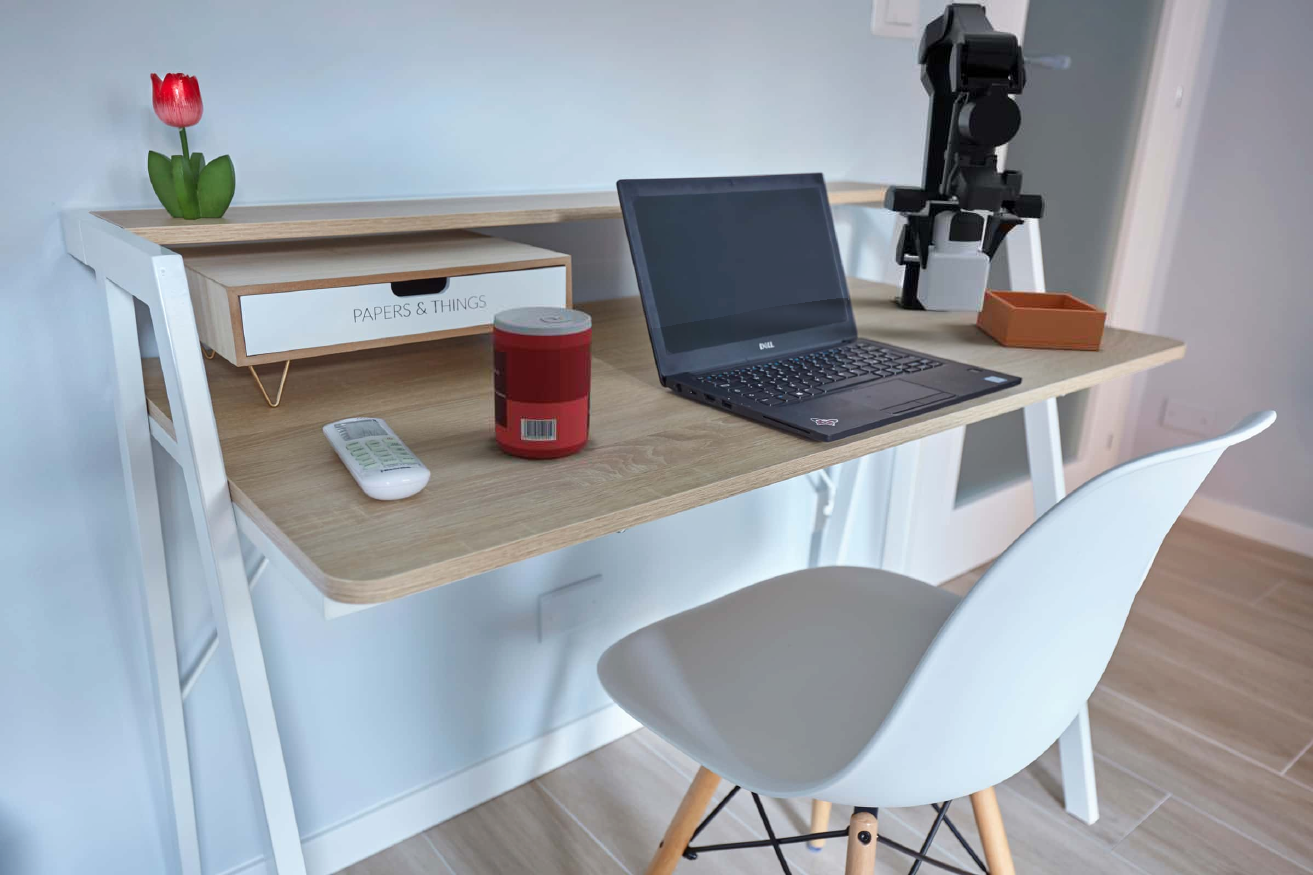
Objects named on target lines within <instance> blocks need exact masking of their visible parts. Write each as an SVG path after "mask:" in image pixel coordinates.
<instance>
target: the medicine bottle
mask: <svg viewBox="0 0 1313 875" xmlns="http://www.w3.org/2000/svg"><path fill="white" fill-rule="evenodd" d="M985 221H986V219H985V218H984V217H983V215H981V214H979V213H977V212H974V211H966V210H961V211H945V212H942V213H939V214H937V215H936V217H935V222H934V230H933V239H932V243H933V244H934V246H929V253H928V261H927V267H926V269H925V270H923V269H922V268H921V266H920V274H919V282H918V291H917V299H918V300H919V301H920V303H921V304H922V305H923V306H924V308H925V309H924V310H926V311H938V312H940V311H941V312H942V311H943V312H945V311H946V312H961V313H962V312H963V313H965V312H966V313H978V312H981V311H982V307H983V300H984V293H985V290H986V286H987V285H986V284H987V279H988V272H989V266H990V264H989V257H988V256H987V255H986V254H984V253H983V252H981V250H980V249H979V247H982V243H983V240H982V239H983V236H984V227H985Z"/></svg>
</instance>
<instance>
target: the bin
mask: <svg viewBox="0 0 1313 875" xmlns="http://www.w3.org/2000/svg"><path fill="white" fill-rule="evenodd" d="M1107 314H1108V313H1107V311H1104V310H1102V309H1100V308H1098V307H1096V306H1095V305H1092V304H1090V303H1088V302H1086V301H1084V300H1082V299H1080V298H1078V297H1076V296H1074V295H1072V294H1070V293H1058V292H1039V291H1036V292H1035V291H1016V290H995V289H993V290H992V289H985V293H984V300H983V307H982V311H981V312H977V316H976V324H975V325H976V326H977V327H978V328H979V329H981V330H982V331H983V332H985V333H986V334H988V335H989V336H991V337H992V338H993V339H995V340H996V341H997V342H998V343H1000V344H1001V345H1002V346H1004V347H1006V348H1007V347H1011V348H1030V349H1052V350H1054V349H1055V350H1073V351H1092V352H1093V351H1094V352H1096V351H1097V352H1098V351H1100V348H1101V342H1102V338H1103V334H1104V329H1105V325H1106V319H1107Z"/></svg>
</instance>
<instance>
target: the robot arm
mask: <svg viewBox="0 0 1313 875" xmlns="http://www.w3.org/2000/svg"><path fill="white" fill-rule="evenodd" d="M986 13H987V9H986V6H985V5H982V4H981V3H973V2H972V3H971V2H970V3H969V2H952V3H951V4H947V5H946V6H945V8H944V11H943V13H942V14H941V15H940V16H938V17H936V18H935V19H933V20H932V21H930V22H929V23H928V24H926V25H925V28H924V30H923V33H922V36H921V39H920V42H919V46H918V52H917V65H919V66H920V82H921V85H922V86H923V88H924V90H925V92H926V94H927V95H928V99H929V100H928V110H927V111H928V112H927V119H926V120H927V121H926V131H925V144H924V153H923V163H922V172H921V173H922V174H921V185H920V186H914V185H913V186H912V185H895V184H894V185H893V184H892V185H890V186H889V187H888V188H887V189H886V190H885V194H884V200H883V208H885V209H888V210H889V211H891V212H896V213H899V216H901V217H904V218H905V219H906V223H903V225H902V228H901V230H900V235H899V238H898V240H897V245H896V248H895V262H896V264H897V265H898V266H900V267H901V266H905V267H904V274H903V280H902V281H903V282H902V288H901V296H894V298H893V299H894V301H895V302H896V303H897V304H898V305H900V307H902V308H904V309H920V310H921V309H922V310H926V309H925V308H924V306H923V305H922V304H921V303H920V301H919V300H918V299H917V291H918V282H919V274H920V266H921V268H922V269H923V270H925V269H926V267H927V261H928V253H929V246H934V244H933V243H932V239H933V230H934V222H935V217H936V215H937V214H939V213H942V212H945V211H965V212H974V211H988V212H989V213H993V214H987V216H986V222H985V229H984V232H983V238H982V239H983V240H982V244H981V250H980V251H981V252H983V253H984V254H986V255H987V256H988V257H989V265H990V263H991V262H992V260H993V258H994V256H995V255H996V253H997V251H998V249H999V247H1000V246H1001V244H1002V242H1003V241H1004V239H1005V238H1006V236H1007V235H1008V234H1009V232H1010V231H1012V230H1013V229H1014V228H1015V227H1016V226H1022V225H1024V224H1025V223H1026V220H1024V219H1035V220H1036V219H1038V220H1041V219H1043V218H1044V214H1045V208H1046V202H1045V199H1044V197H1043V196H1042V194H1038V193H1034V192H1031V191H1021V190H1022V184H1023V178H1024V175H1023V174H1024V173H1023V172H1022V171H1021V170H1019V169H1004V170H1003V172H1001V171H1000V172H999V171H998V162H999V161H998V156H999V155H998V154H996V149H997V148H999V147H1003V146H1005V145H1007V144H1008V143H1009V142H1010V141H1012V139H1013V138H1015V136H1016V135H1017V133H1018V132H1019V130H1020V127H1021V124H1022V115H1021V114H1022V113H1021V109H1020V108H1019V105H1018V103H1017V102H1016V101H1015V100H1014V99H1013V98H1012V97H1010V96H1011V95H1014V96H1020V95H1022V94H1023V90H1024V89H1025V86H1026V83H1027V72H1026V63H1025V62H1026V61H1025V55H1024V54H1023V47H1022V45H1020V44H1019V40H1018V37H1017V36H1016V34H1014V33H1010V32H1006V31H999V30H998V31H997V30H995V28H994V27H993V25H992V24H991V23H992V22H990V20H989V19H988V16H987V15H986ZM1009 95H1010V96H1009ZM954 197H955V198H954ZM906 255H908V256H906Z"/></svg>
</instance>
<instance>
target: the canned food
mask: <svg viewBox="0 0 1313 875" xmlns="http://www.w3.org/2000/svg"><path fill="white" fill-rule="evenodd" d="M492 322H493V323H492V347H493V348H492V350H493V354H492V355H493V396H494V397H493V398H494V402H493V403H494V404H493V405H494V436H495V440H496V442H497V446H498V447H499V449H500V450H502V451H504V453H507V454H509V455H511V456H514V457H520V458H525V459H535V460H536V459H537V460H538V459H539V460H543V459H544V460H545V459H556V458H564V457H567V456H572V455H574V454H577V453H579V452H580V451H581V450H583V449H584V448H585V447H586V446H587V443H588V441H589V437H590V429H591V428H590V424H591V386H592V382H591V380H592V348H593V346H592V345H593V336H592V335H593V334H592V333H593V330H592V329H593V324H592V317H591V315H589V314H587V313H585V312H583V311H580V310H576V309H572V308H565V307H555V306H525V307H515V308H510V309H509V308H508V309H505V310H502V311H499V312H498V313H496V314H495V315H494V316H493V321H492Z"/></svg>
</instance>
